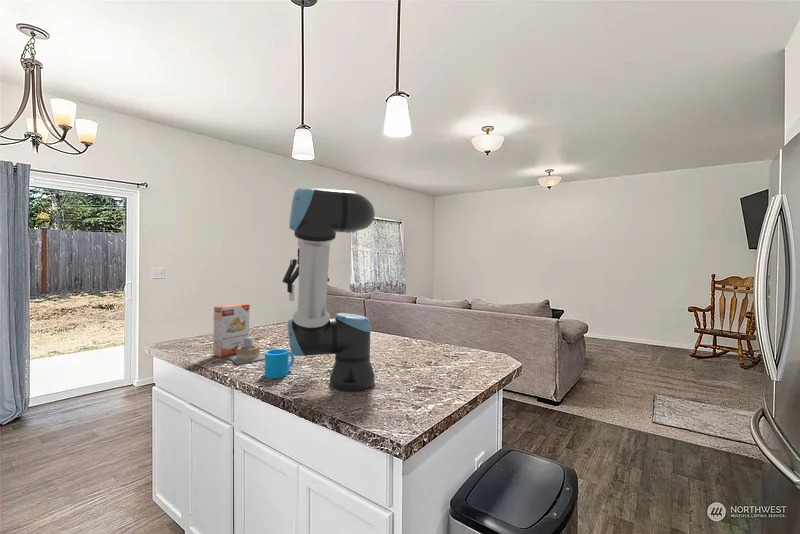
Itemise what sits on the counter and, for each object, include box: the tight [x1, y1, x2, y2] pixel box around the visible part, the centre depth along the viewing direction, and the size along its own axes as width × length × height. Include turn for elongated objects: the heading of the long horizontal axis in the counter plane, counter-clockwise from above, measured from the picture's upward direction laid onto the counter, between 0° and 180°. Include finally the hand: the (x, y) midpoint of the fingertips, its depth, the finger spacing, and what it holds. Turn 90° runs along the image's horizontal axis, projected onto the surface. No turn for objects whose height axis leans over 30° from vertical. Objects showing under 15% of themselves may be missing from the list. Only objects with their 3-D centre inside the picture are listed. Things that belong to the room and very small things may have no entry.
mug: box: [264, 348, 295, 379], centre depth 135 cm, size 12×8×8 cm
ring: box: [236, 344, 260, 360], centre depth 153 cm, size 8×8×4 cm
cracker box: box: [212, 303, 250, 358], centre depth 160 cm, size 14×6×21 cm, turn 153°
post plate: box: [227, 336, 265, 366], centre depth 153 cm, size 12×12×9 cm
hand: (306, 299), depth 151 cm, fingers open, 13 cm apart
